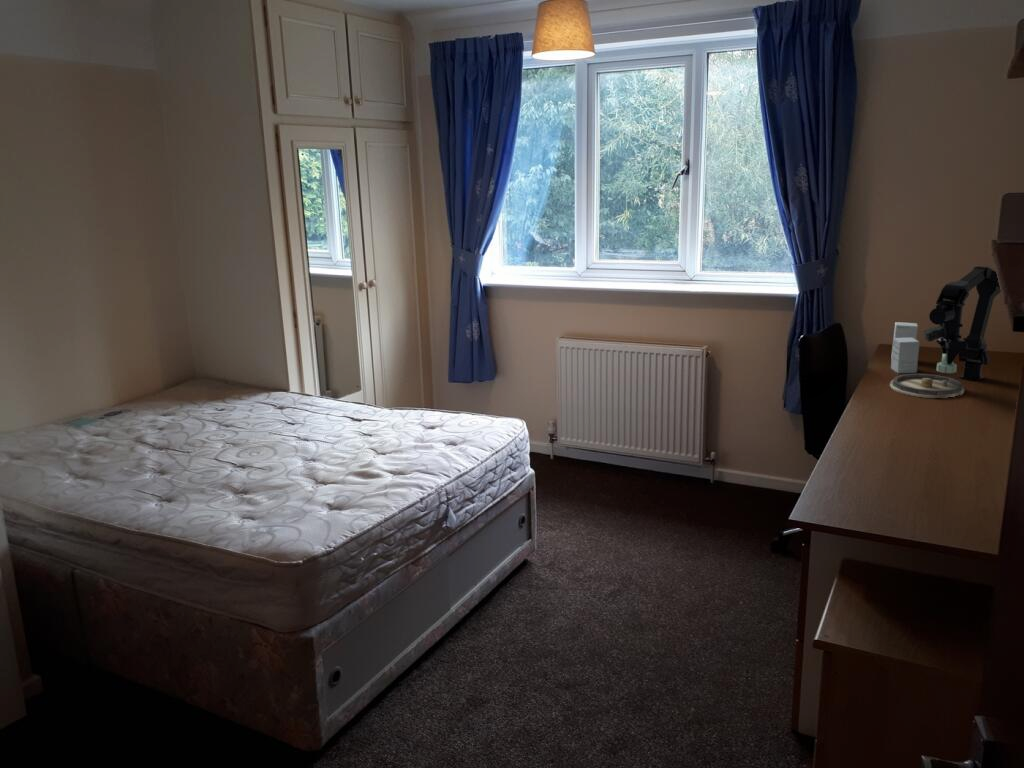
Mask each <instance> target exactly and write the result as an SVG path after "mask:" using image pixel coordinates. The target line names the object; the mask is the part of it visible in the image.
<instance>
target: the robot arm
mask: <svg viewBox="0 0 1024 768" xmlns="http://www.w3.org/2000/svg"><path fill="white" fill-rule="evenodd" d="M996 272H997V271H995V270H993V269H992V268H991V267H989V266H980V265H979V266H978V265H977V266H975V267H973V269H972V270H971V271H970V272H969V273H967V274H966V275H965V276H963V277H962V278H960V279H959V280H957V281H950V282H949V283H946V284H945V285H944V287H942V289H941V291H940V293H939V295H938V297H937V300H936V302H935V304H936V306H935V308H933V309H932V310H930V313H929V314H928V317H929V320H930V322H931V323H932V324H934V325H936V326H934V327H930V328H927V329H924V330H923V331H922V332H923V335H924V339H925V340H926V341H928V342H934V340H935V342H936V343H937V344H938V345H940V350H941V354H945V353H947V364H951V363H952V362H953V363H954V360H955V359H956V357H957V356H958V360H959V362H962V363H963V362H964V364H963V365H964V367H963V374H961V375H958V378H960V379H964V380H969V381H972V382H973V381H975V382H978V381H980V380H983V379H985V378H986V377H985V376H983V375H982V370H983V369H982V368H983V366H986V365H988V364H989V363H990V358H991V357H990V355H989V352H988V351H987V346H988V345H987V342H986V339H985V333H986V330H987V326H988V322H989V319H990V314H991V311H992V308H993V304H994V303H993V302H994V300H995V298H996V297H997V296H998V295H999V294H1000V293H1001V292H1002V290H1000V286H999V282H998V278H997V274H996ZM974 288H975V289H976V291H977V295H978V299H977V302H976V306H975V311H974V314H973V318H972V322H971V325H970V329H969V334H968V335H967V336H966V337H963V338H962V335H961V333H960V332H961V328H963V327H964V326H963V324H964V323H962V316H963V309H964V308H963V307H965V306H966V304H965V301H966V300H967V298H968V297H969V296H970V292H971V290H972V289H974Z"/></svg>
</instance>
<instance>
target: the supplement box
mask: <svg viewBox="0 0 1024 768" xmlns="http://www.w3.org/2000/svg"><path fill="white" fill-rule="evenodd" d="M892 347H893V350H892V349H891V355H892V360H891V362H890V363H891V364H890V369H891V370H892V371H894V372H895V373H896V372H897V373H896V374H918V373H917V372H918V360H919V354H920V353H919V352H920V341H919V340H917V338H916V339H914V338H912V337H910V338H894V337H893V339H892Z"/></svg>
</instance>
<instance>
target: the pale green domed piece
mask: <svg viewBox="0 0 1024 768" xmlns="http://www.w3.org/2000/svg"><path fill="white" fill-rule="evenodd" d="M941 354H942V353H941ZM957 368H958V364H957V363H954V361H953V362H952V363H951V364H947V353H945V354H942V355H941V361H939V362H937V363H936V368H935V370H936V371H937V372H939V373H942V374H954V373H957V371H958V370H957Z"/></svg>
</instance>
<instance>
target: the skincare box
mask: <svg viewBox="0 0 1024 768" xmlns="http://www.w3.org/2000/svg"><path fill="white" fill-rule="evenodd" d="M918 325H919V324H918V323H917V322H902V321H896V322H894V329H893V338H910V337H912V338H914V339H916V340H917V338H918V337H917V336H918V329H919V326H918ZM892 350H893V346H892V347H891V351H892ZM890 360H891V361H892V354H891V357H890Z"/></svg>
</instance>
